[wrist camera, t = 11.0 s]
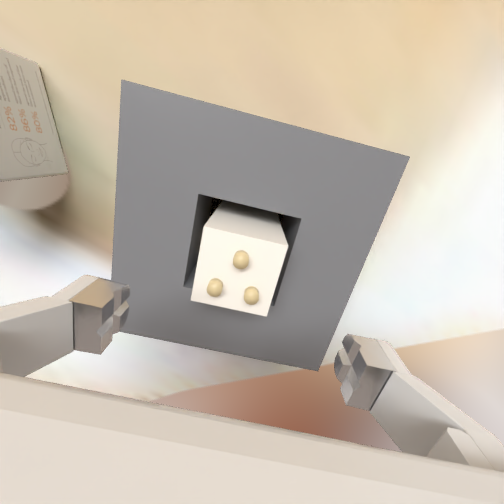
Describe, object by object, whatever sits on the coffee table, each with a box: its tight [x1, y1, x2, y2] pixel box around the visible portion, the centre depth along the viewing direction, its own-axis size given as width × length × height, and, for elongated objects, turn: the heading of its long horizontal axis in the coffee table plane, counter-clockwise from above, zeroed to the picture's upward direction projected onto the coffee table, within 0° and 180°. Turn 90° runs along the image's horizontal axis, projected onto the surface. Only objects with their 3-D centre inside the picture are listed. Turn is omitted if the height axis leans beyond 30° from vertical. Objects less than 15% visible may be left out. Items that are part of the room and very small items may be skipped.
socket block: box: [111, 80, 410, 371], centre depth 20 cm, size 16×16×7 cm
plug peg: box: [191, 200, 288, 317], centre depth 18 cm, size 4×4×11 cm
